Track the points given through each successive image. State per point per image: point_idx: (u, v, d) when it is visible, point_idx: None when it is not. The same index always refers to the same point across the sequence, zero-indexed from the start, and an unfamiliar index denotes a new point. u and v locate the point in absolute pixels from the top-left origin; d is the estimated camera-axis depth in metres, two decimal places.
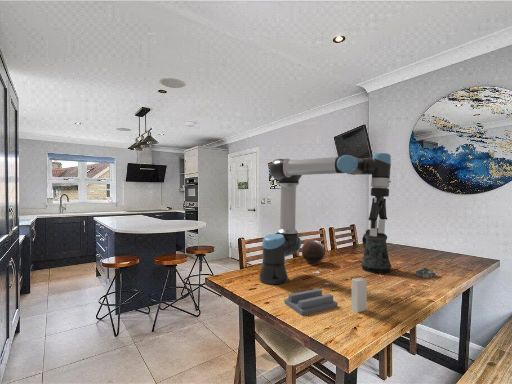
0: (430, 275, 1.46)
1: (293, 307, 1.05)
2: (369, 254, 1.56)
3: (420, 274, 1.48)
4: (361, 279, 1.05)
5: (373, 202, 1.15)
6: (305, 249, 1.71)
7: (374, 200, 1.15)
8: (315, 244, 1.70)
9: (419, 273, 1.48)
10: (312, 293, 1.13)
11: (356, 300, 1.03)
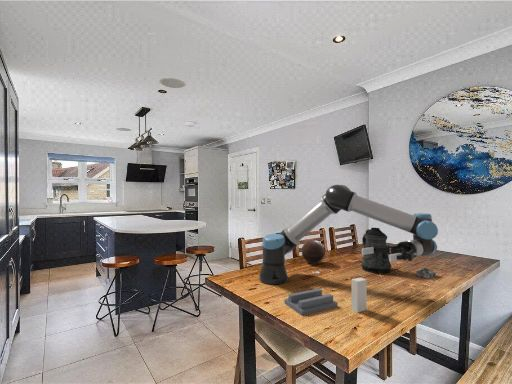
0: (431, 275, 1.46)
1: (293, 307, 1.05)
2: (369, 254, 1.56)
3: (421, 274, 1.47)
4: (361, 279, 1.05)
5: (414, 252, 1.10)
6: (305, 249, 1.71)
7: (415, 253, 1.10)
8: (315, 244, 1.70)
9: (420, 273, 1.47)
10: (312, 293, 1.13)
11: (356, 300, 1.03)
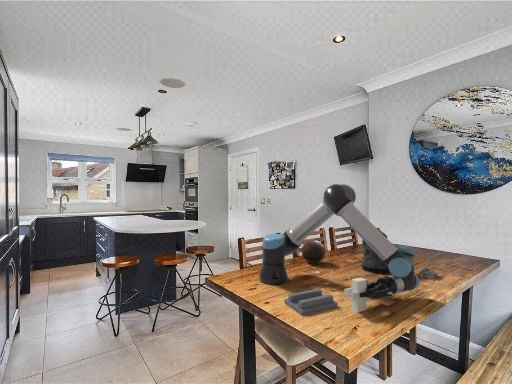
0: (433, 275, 1.46)
1: (293, 307, 1.05)
2: (369, 254, 1.56)
3: (424, 275, 1.46)
4: (361, 279, 1.05)
5: (388, 291, 1.04)
6: (305, 249, 1.71)
7: (390, 292, 1.04)
8: (315, 244, 1.70)
9: (423, 274, 1.46)
10: (312, 293, 1.13)
11: (356, 300, 1.03)
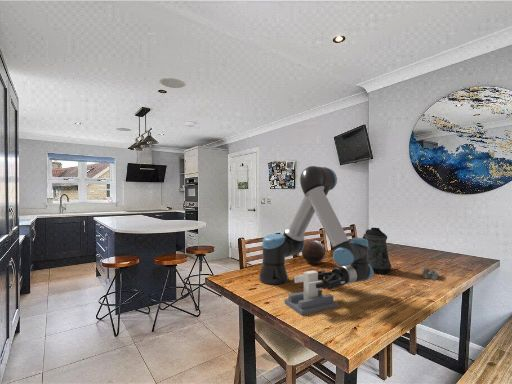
0: None
1: (293, 307, 1.05)
2: (369, 254, 1.56)
3: (428, 276, 1.45)
4: (313, 272, 1.10)
5: (341, 281, 1.08)
6: (305, 249, 1.71)
7: (342, 281, 1.09)
8: (315, 244, 1.70)
9: (427, 275, 1.45)
10: None
11: (307, 292, 1.08)
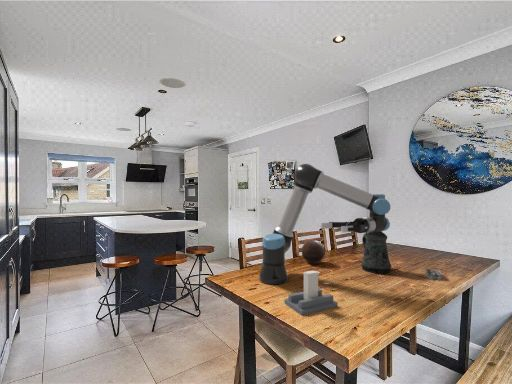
0: None
1: (293, 307, 1.05)
2: (369, 254, 1.56)
3: (433, 276, 1.43)
4: (313, 272, 1.10)
5: (365, 226, 1.24)
6: (305, 249, 1.71)
7: (366, 226, 1.25)
8: (315, 244, 1.70)
9: (433, 276, 1.43)
10: None
11: (307, 292, 1.08)
